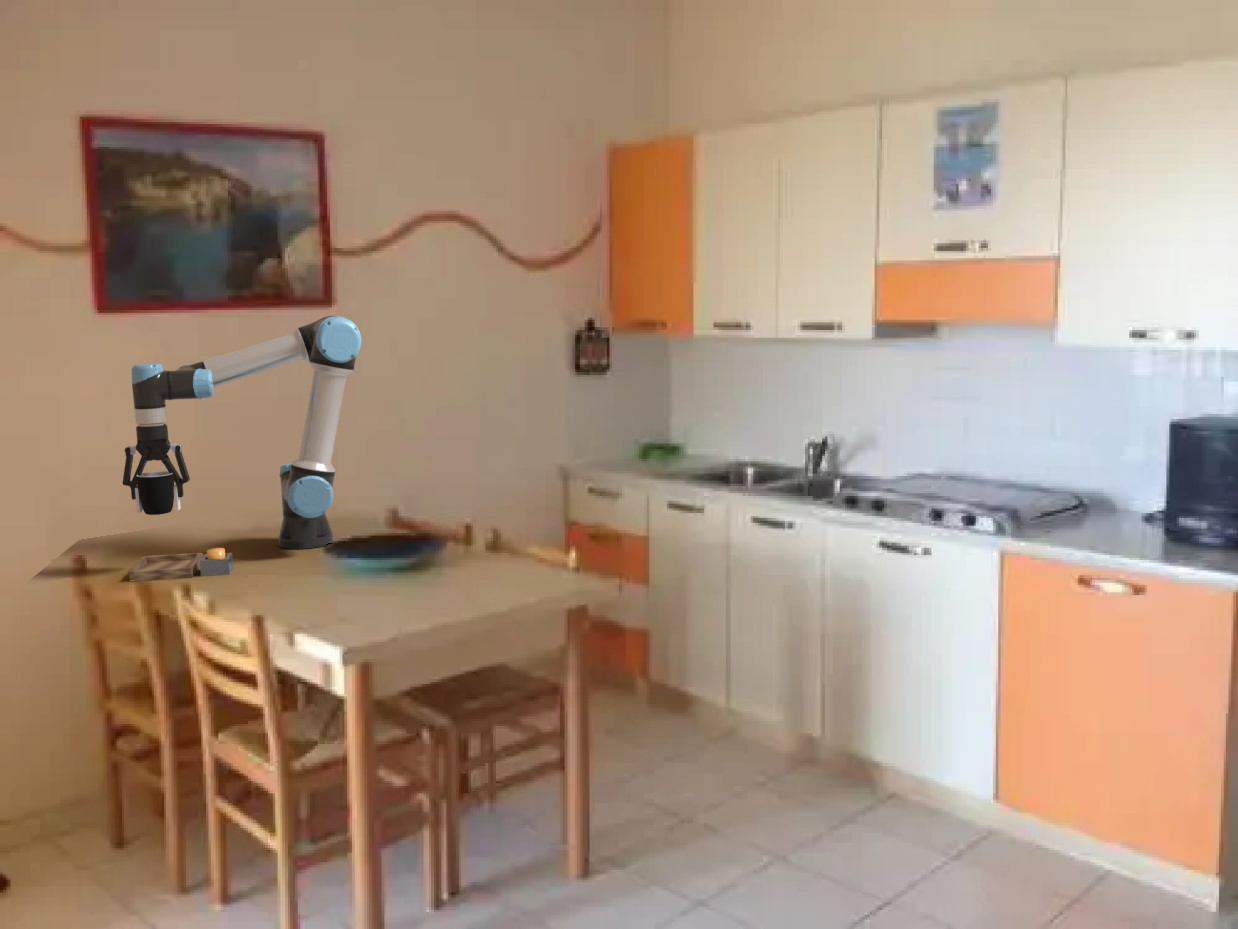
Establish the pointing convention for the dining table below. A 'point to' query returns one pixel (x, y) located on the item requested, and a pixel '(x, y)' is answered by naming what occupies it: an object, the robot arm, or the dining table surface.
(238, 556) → the dining table surface
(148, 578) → the wooden tray
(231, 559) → the button housing
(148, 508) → the mug
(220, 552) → the button
